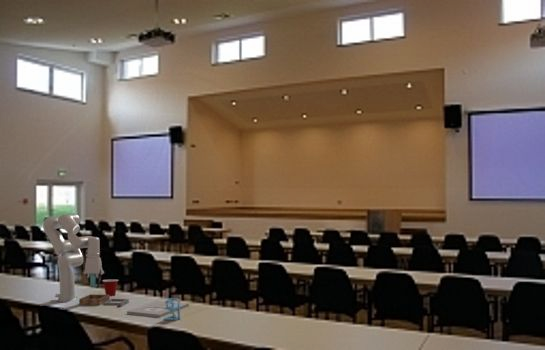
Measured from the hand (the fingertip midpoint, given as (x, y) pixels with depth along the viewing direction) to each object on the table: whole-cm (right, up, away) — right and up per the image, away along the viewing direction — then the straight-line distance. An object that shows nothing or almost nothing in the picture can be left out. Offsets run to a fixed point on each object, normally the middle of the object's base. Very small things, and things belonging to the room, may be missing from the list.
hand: (93, 283), depth 348 cm
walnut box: (+1, -14, 0) cm, 14 cm away
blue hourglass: (+61, -12, -43) cm, 76 cm away
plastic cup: (+4, -14, +22) cm, 27 cm away
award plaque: (+47, -13, -20) cm, 53 cm away
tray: (+16, -13, -3) cm, 21 cm away
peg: (0, -2, 0) cm, 2 cm away
